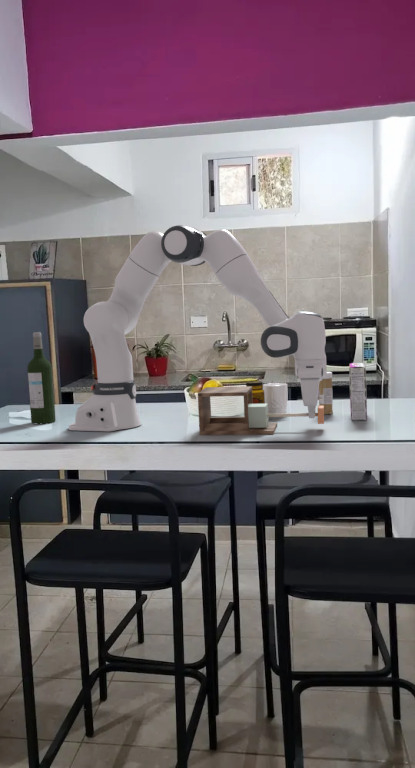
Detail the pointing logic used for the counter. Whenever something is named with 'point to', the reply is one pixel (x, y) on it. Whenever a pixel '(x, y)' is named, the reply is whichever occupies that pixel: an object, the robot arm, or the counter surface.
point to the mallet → (274, 415)
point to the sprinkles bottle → (326, 393)
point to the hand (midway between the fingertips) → (312, 417)
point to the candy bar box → (358, 391)
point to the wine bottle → (40, 385)
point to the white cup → (275, 397)
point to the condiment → (256, 392)
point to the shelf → (227, 424)
